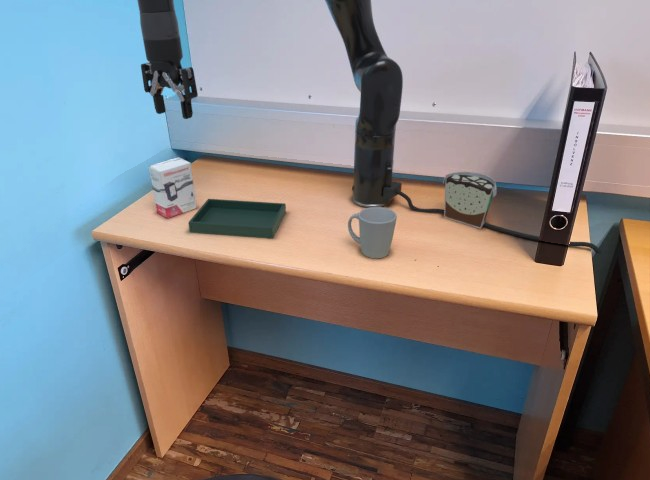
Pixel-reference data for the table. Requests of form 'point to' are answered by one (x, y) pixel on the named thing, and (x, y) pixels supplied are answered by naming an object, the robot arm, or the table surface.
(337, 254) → the table surface
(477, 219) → the food container
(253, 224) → the desk tray
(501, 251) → the table surface
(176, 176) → the ink box
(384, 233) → the cup
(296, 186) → the table surface
